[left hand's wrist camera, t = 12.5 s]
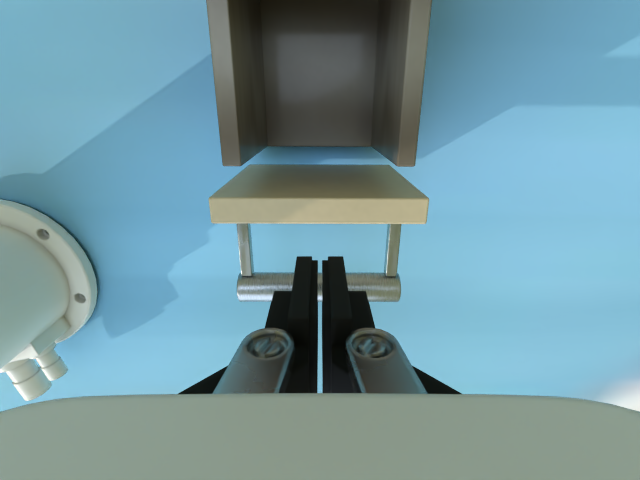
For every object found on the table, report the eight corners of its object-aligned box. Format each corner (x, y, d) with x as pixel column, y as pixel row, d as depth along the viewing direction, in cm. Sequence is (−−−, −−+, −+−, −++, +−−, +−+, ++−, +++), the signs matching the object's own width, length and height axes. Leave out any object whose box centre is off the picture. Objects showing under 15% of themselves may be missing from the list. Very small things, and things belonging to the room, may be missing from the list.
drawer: (382, 254, 26) (413, 328, 17) (255, 254, 26) (223, 327, 17) (413, -159, 17) (504, -415, 9) (225, -159, 17) (134, -417, 9)
